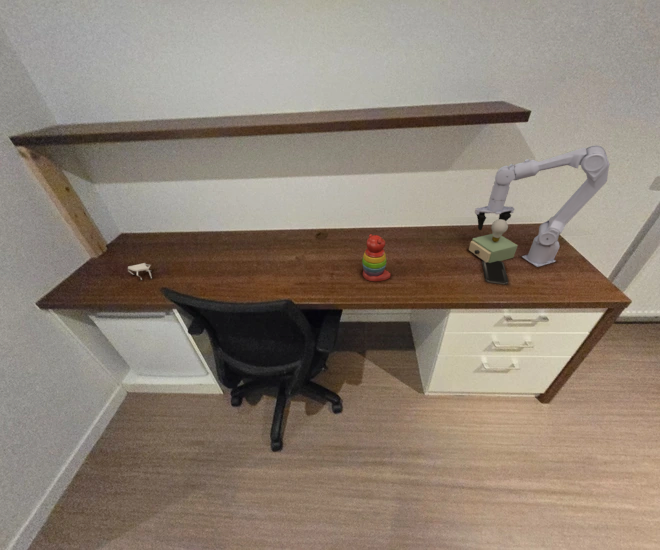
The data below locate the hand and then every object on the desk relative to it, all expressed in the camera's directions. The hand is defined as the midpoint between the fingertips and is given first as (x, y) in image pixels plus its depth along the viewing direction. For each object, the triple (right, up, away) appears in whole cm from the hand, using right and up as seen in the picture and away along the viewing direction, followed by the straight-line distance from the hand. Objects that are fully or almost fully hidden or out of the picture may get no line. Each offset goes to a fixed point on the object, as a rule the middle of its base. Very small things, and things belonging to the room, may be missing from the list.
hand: (489, 228), depth 127 cm
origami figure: (-149, -20, +5) cm, 151 cm away
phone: (-2, -19, -8) cm, 20 cm away
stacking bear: (-49, -20, -4) cm, 53 cm away
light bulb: (+2, -6, -1) cm, 6 cm away
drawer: (0, -10, +1) cm, 10 cm away
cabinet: (+2, -10, +2) cm, 11 cm away
